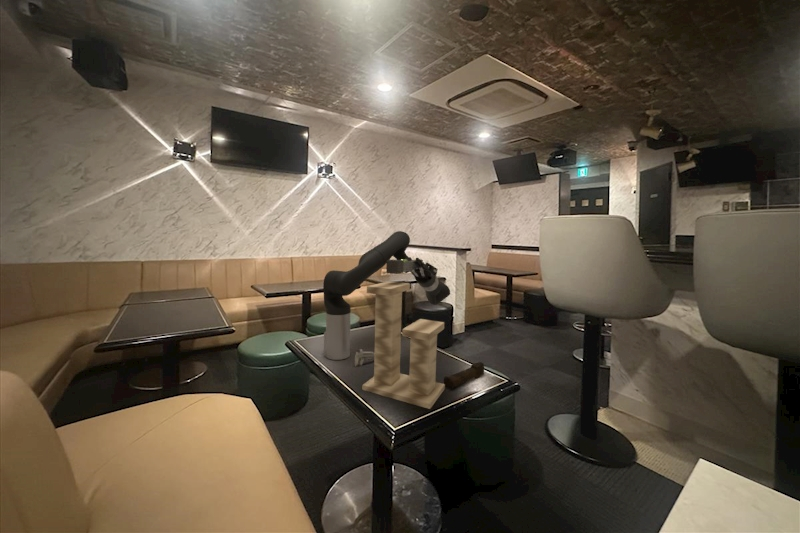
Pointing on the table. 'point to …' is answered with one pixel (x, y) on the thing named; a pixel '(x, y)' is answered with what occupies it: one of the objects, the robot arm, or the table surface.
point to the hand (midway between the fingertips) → (412, 259)
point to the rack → (388, 344)
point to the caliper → (363, 356)
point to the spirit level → (400, 266)
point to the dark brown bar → (464, 375)
